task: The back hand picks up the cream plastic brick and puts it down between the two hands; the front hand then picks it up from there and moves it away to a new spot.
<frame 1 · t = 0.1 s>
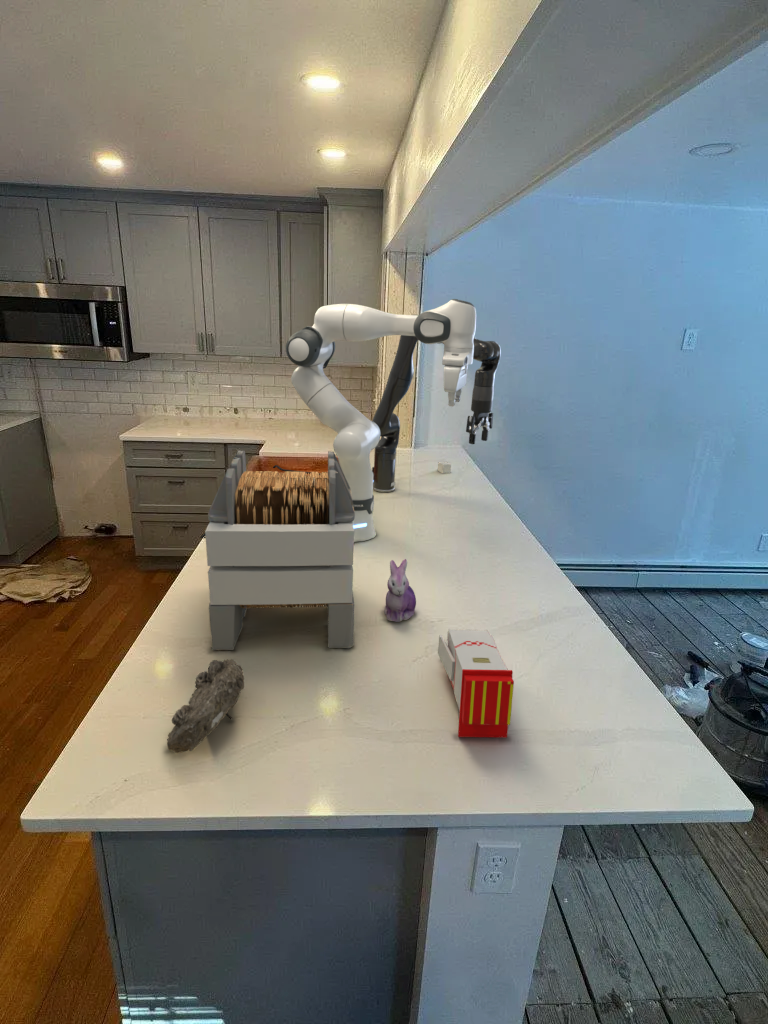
front hand: (454, 403, 174), 48 cm above the counter, tool pointing down, fingers open, 8 cm apart
back hand: (478, 442, 211), 29 cm above the counter, tool pointing down, fingers open, 8 cm apart
grey record crate stand: (286, 613, 145), on the counter
toy: (469, 691, 119), on the counter
brick: (444, 471, 279), on the counter
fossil: (212, 717, 108), on the counter
figurine: (399, 614, 147), on the counter
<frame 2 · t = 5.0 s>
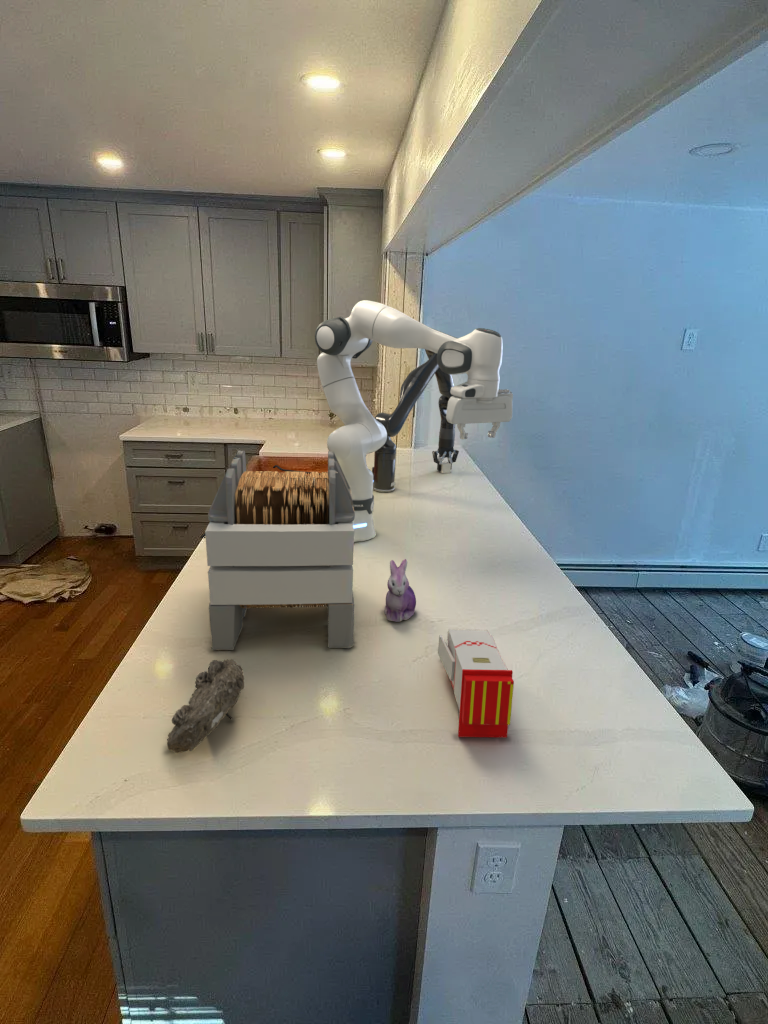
front hand: (477, 438, 164), 41 cm above the counter, tool pointing down, fingers open, 8 cm apart
back hand: (444, 470, 279), 0 cm above the counter, tool pointing down, fingers closed on brick, 4 cm apart
brick: (444, 471, 279), on the counter, touching back hand
everything else where it was.
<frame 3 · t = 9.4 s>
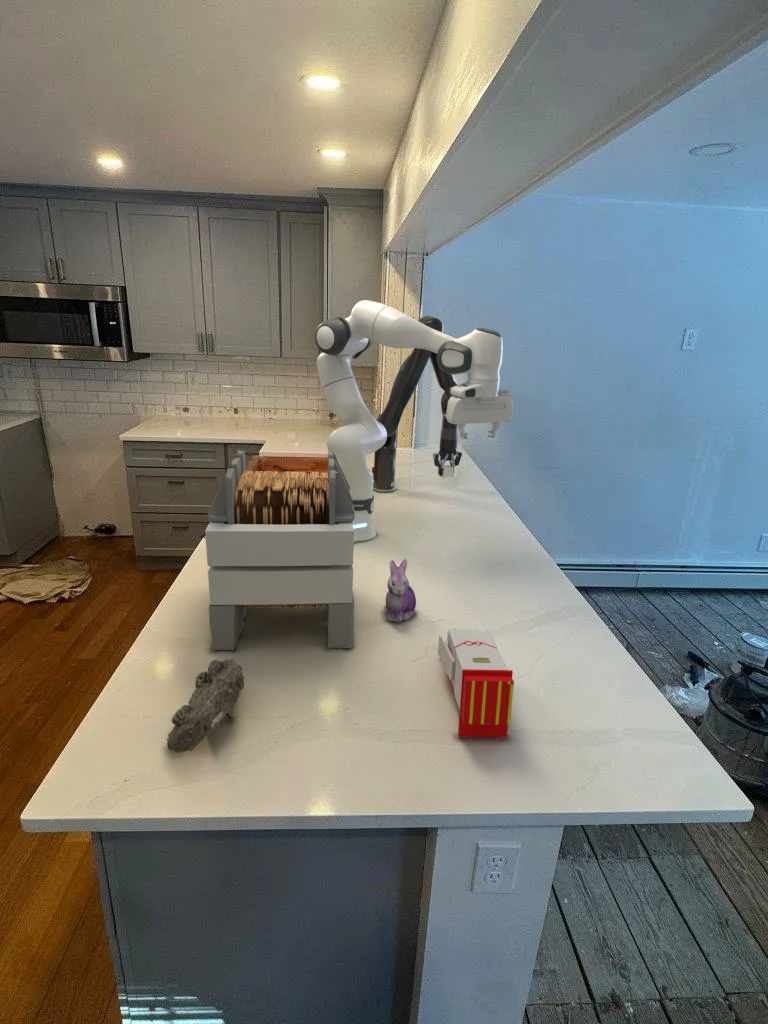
front hand: (477, 438, 164), 41 cm above the counter, tool pointing down, fingers open, 8 cm apart
back hand: (445, 475, 252), 6 cm above the counter, tool pointing down, fingers closed on brick, 4 cm apart
brick: (445, 476, 252), point 6 cm above the counter, touching back hand
everything else where it was.
when the back hand's fingers open (1 cm above the counter, at t = 14.0 s): brick stays where it is, on the counter.
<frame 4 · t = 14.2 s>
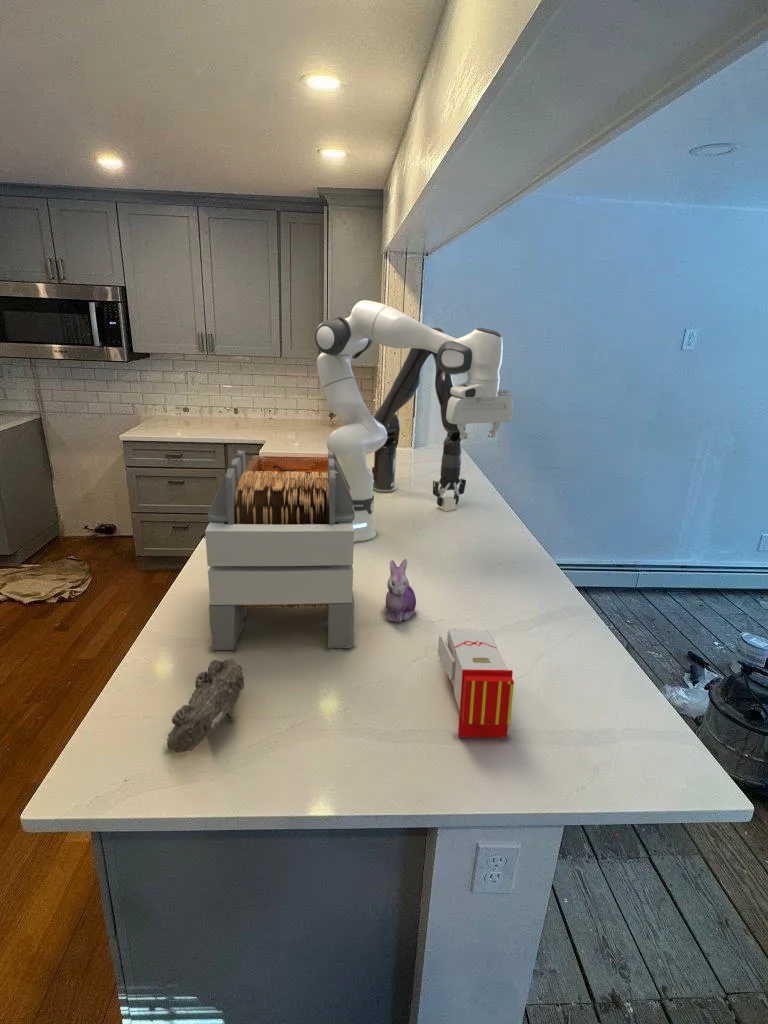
front hand: (477, 438, 164), 41 cm above the counter, tool pointing down, fingers open, 8 cm apart
back hand: (447, 504, 227), 2 cm above the counter, tool pointing down, fingers open, 6 cm apart
brick: (447, 508, 227), on the counter
everything else where it was.
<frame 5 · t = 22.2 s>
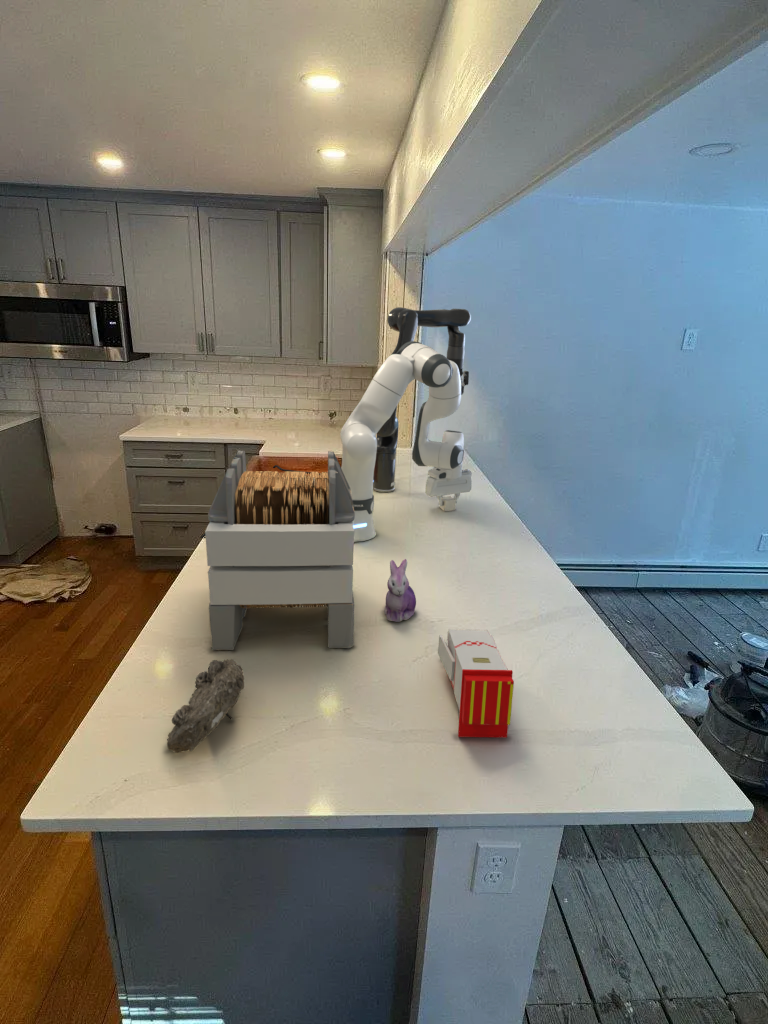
front hand: (447, 504, 227), 2 cm above the counter, tool pointing down, fingers closed on brick, 5 cm apart
back hand: (452, 394, 252), 40 cm above the counter, tool pointing down, fingers open, 8 cm apart
brick: (447, 508, 227), on the counter, touching front hand
everything else where it was.
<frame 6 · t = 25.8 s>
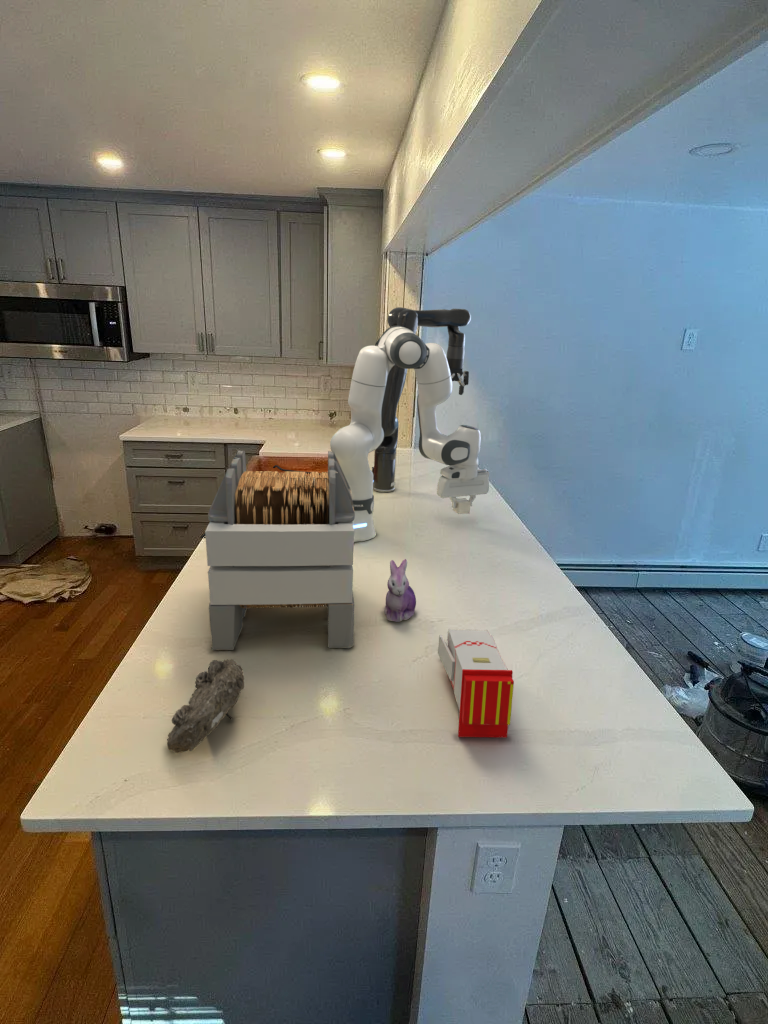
front hand: (461, 506, 207), 7 cm above the counter, tool pointing down, fingers closed on brick, 5 cm apart
back hand: (452, 394, 252), 40 cm above the counter, tool pointing down, fingers open, 8 cm apart
brick: (461, 511, 208), point 6 cm above the counter, touching front hand
everything else where it was.
when the front hand's fingers open (3 cm above the counter, at t = 29.9 s): brick stays where it is, on the counter.
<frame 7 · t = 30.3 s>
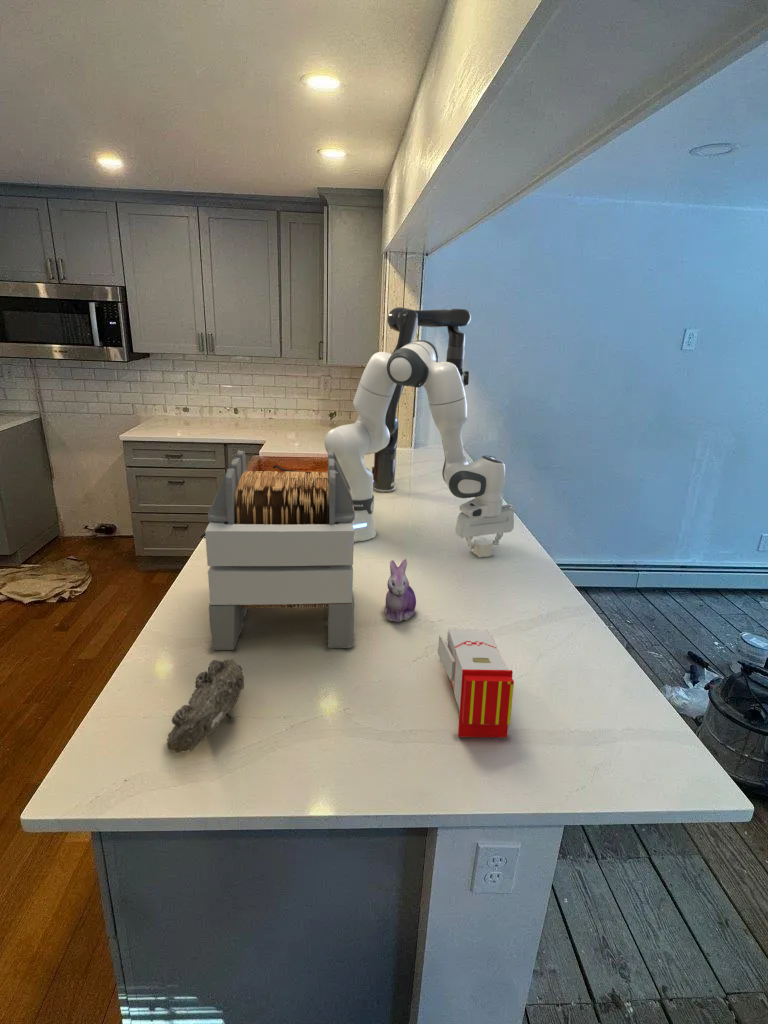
front hand: (483, 546, 185), 3 cm above the counter, tool pointing down, fingers open, 8 cm apart
back hand: (452, 394, 252), 40 cm above the counter, tool pointing down, fingers open, 8 cm apart
brick: (481, 554, 186), on the counter
everything else where it was.
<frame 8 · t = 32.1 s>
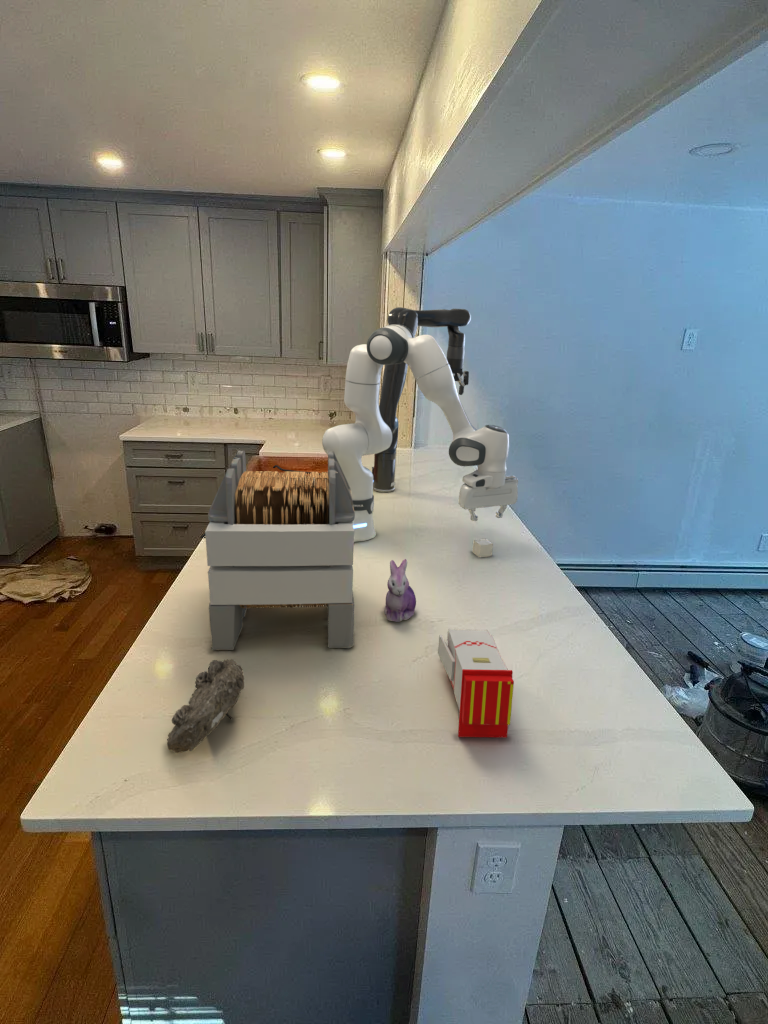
front hand: (486, 518, 182), 12 cm above the counter, tool pointing down, fingers open, 8 cm apart
back hand: (452, 394, 252), 40 cm above the counter, tool pointing down, fingers open, 8 cm apart
nothing on the counter moved.
at the end: brick inside the target area (0.2 cm from its centre), on the counter; brick tilted 0°; the two hands never held the brick at the same time; the front hand is holding nothing; the back hand is holding nothing; brick at rest at the end (0.0 cm/s) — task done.
